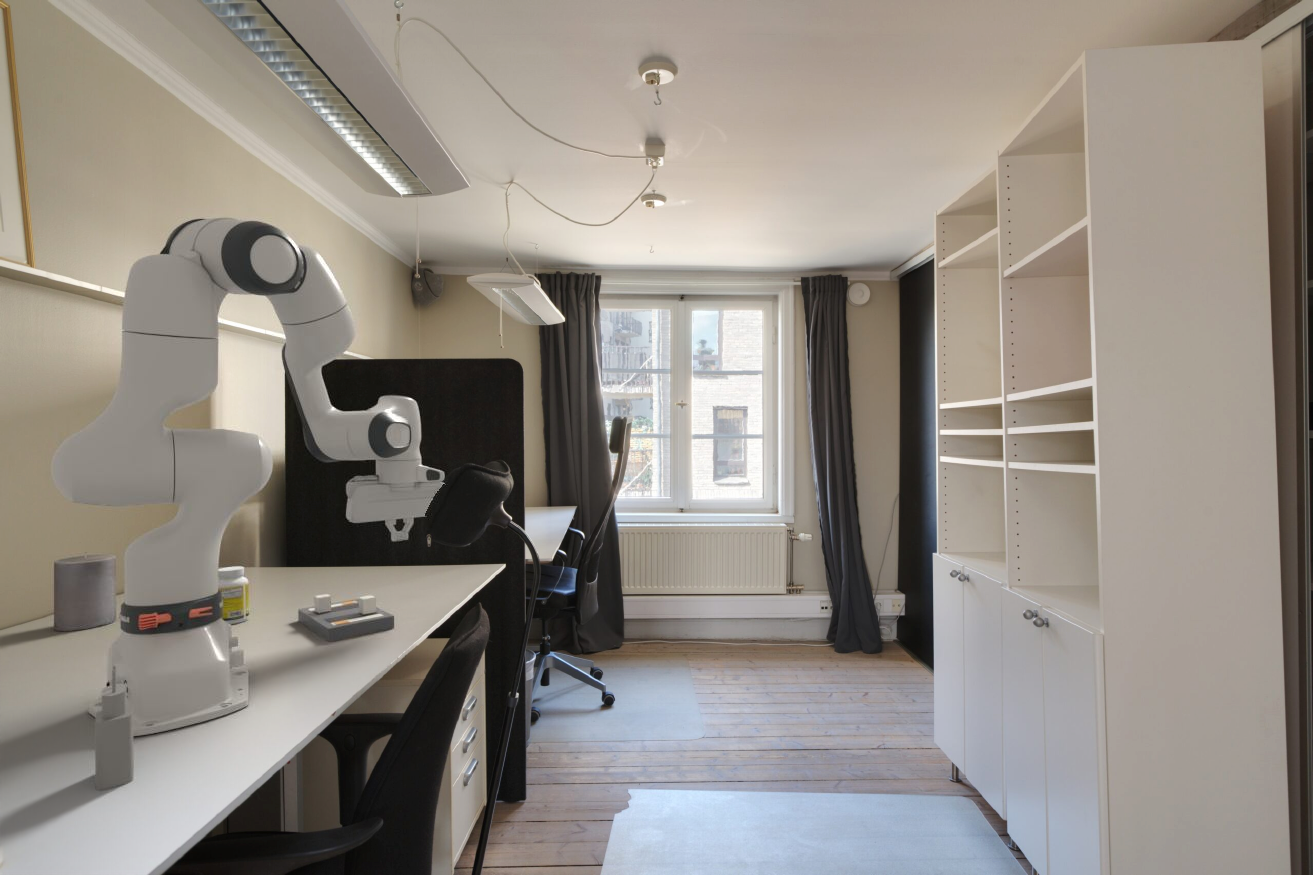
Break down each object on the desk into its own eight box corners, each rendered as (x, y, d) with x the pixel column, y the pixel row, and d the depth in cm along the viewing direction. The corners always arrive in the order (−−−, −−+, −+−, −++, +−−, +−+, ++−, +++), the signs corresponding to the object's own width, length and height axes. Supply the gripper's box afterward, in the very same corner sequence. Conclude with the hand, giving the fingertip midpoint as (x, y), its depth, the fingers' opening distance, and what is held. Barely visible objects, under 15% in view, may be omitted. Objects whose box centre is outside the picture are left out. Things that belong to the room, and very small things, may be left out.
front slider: (375, 612, 128) (375, 597, 128) (363, 614, 127) (363, 599, 127) (371, 609, 130) (371, 595, 130) (358, 612, 129) (358, 597, 129)
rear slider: (331, 610, 130) (330, 595, 130) (318, 613, 128) (318, 598, 128) (327, 608, 132) (327, 593, 132) (314, 610, 130) (314, 595, 130)
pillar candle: (65, 622, 135) (64, 550, 135) (123, 616, 139) (122, 546, 139) (44, 634, 126) (44, 558, 126) (107, 627, 130) (106, 553, 130)
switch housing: (394, 627, 126) (394, 615, 126) (328, 641, 118) (328, 628, 118) (358, 609, 141) (358, 598, 141) (298, 620, 132) (298, 608, 132)
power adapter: (133, 762, 74) (132, 658, 74) (133, 781, 69) (131, 671, 69) (97, 771, 72) (96, 664, 72) (95, 792, 67) (93, 678, 67)
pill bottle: (230, 617, 136) (229, 565, 136) (256, 617, 136) (255, 565, 136) (205, 625, 130) (205, 571, 130) (233, 626, 129) (232, 571, 129)
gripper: (351, 477, 124) (352, 548, 124) (451, 472, 138) (452, 536, 138) (340, 475, 128) (341, 544, 128) (438, 471, 142) (439, 533, 142)
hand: (399, 540), depth 133 cm, fingers closed
